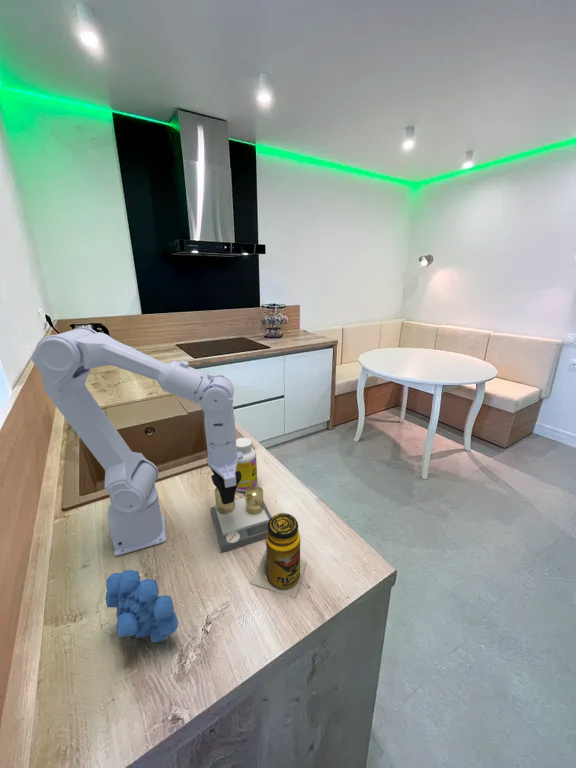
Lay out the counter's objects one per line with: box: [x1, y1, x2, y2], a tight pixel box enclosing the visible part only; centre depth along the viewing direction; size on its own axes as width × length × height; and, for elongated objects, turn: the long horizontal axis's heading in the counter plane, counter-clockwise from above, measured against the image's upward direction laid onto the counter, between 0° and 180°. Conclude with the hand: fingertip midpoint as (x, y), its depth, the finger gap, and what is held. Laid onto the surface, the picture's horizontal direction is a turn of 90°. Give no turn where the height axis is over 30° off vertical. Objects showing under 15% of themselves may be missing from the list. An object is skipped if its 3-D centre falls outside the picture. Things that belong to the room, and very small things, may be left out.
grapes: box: [105, 569, 179, 643], centre depth 45 cm, size 12×7×12 cm, turn 75°
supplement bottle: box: [236, 437, 258, 493], centre depth 79 cm, size 7×7×13 cm
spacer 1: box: [214, 486, 236, 514], centre depth 65 cm, size 4×4×5 cm
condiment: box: [250, 512, 307, 598], centre depth 55 cm, size 7×8×12 cm
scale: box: [210, 497, 273, 554], centre depth 68 cm, size 12×12×2 cm
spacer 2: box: [244, 485, 265, 515], centre depth 69 cm, size 4×4×5 cm
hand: (225, 495), depth 65 cm, fingers closed on spacer 1, 4 cm apart
